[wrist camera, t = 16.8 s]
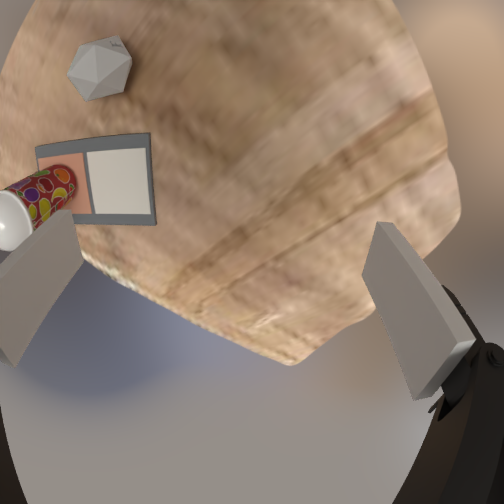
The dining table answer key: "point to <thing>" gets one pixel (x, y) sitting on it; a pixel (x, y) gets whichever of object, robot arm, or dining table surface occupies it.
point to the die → (100, 68)
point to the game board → (107, 178)
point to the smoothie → (33, 203)
